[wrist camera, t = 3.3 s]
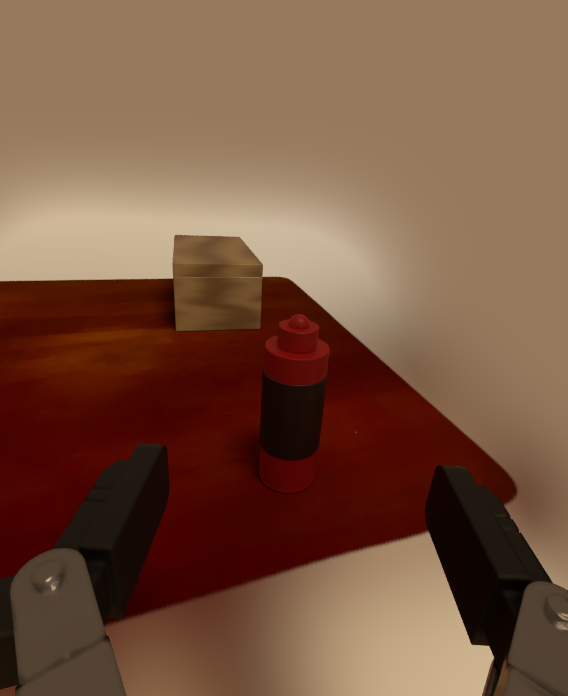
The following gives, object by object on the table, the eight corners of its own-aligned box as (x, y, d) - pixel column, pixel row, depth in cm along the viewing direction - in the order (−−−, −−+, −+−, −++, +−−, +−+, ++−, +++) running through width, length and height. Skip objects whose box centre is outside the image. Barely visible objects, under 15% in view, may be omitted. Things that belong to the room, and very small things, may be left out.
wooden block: (238, 285, 66) (239, 236, 63) (260, 329, 49) (262, 264, 45) (177, 285, 64) (174, 234, 61) (175, 331, 46) (172, 263, 43)
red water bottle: (277, 447, 28) (288, 300, 24) (324, 468, 26) (345, 314, 22) (246, 477, 25) (251, 315, 21) (297, 503, 23) (314, 332, 19)
